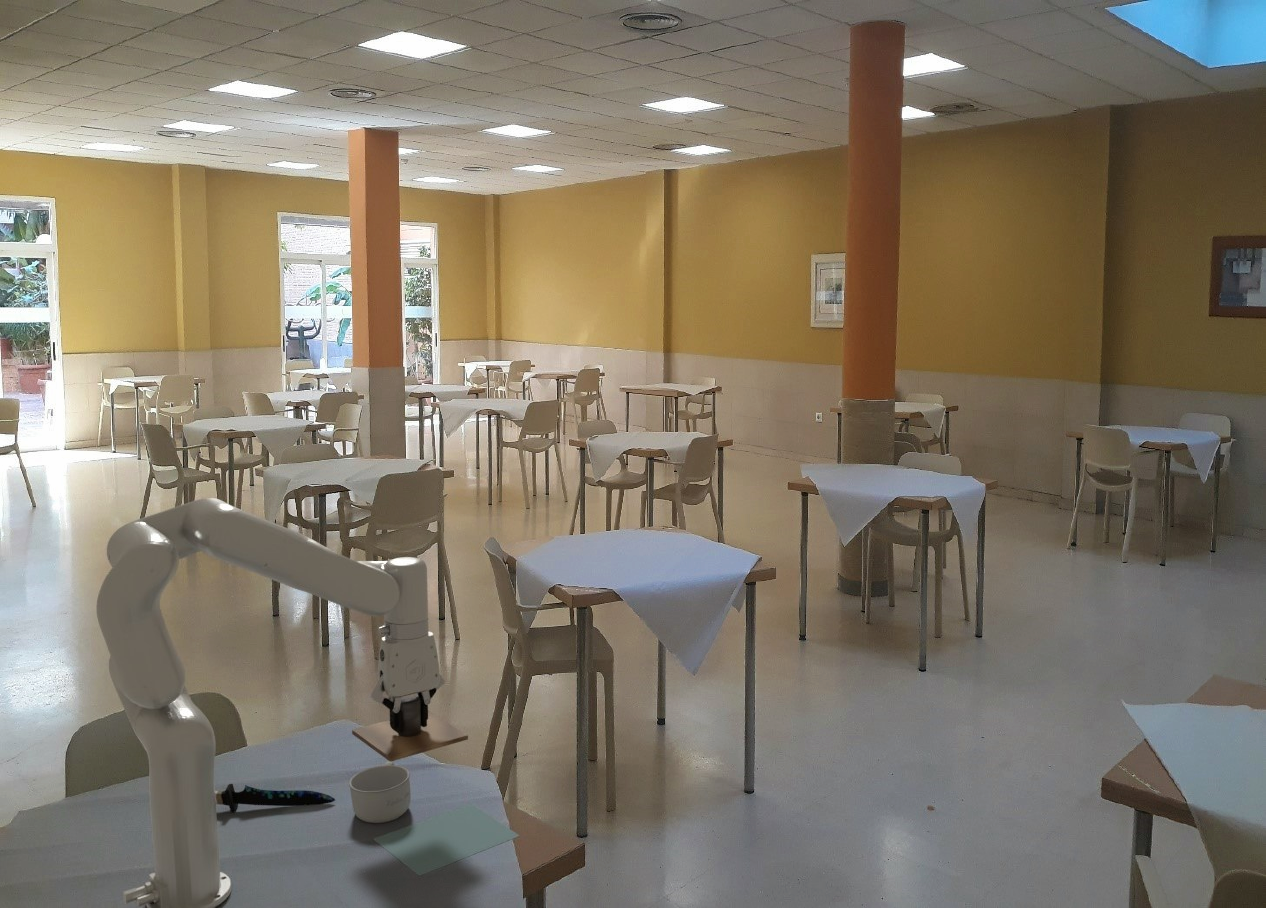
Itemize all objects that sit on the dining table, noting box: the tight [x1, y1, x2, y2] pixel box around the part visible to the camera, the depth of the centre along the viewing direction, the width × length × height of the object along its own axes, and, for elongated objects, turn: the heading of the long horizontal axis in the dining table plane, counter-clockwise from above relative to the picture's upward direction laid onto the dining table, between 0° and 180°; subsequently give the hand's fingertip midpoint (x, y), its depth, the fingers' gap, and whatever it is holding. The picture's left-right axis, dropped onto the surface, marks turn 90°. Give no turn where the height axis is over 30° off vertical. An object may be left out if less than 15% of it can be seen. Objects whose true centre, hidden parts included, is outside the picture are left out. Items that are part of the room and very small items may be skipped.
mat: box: [372, 803, 521, 877], centre depth 188 cm, size 20×16×1 cm
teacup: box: [348, 760, 412, 824], centre depth 198 cm, size 14×11×8 cm
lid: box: [351, 695, 469, 762], centre depth 190 cm, size 15×15×7 cm
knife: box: [215, 783, 336, 814], centre depth 200 cm, size 31×3×4 cm, turn 94°
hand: (409, 726), depth 191 cm, fingers closed on lid, 4 cm apart
